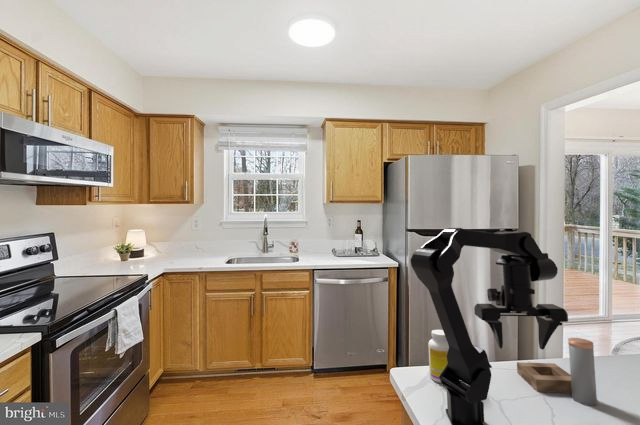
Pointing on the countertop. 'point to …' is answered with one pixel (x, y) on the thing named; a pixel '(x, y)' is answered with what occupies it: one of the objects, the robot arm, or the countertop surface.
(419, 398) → the countertop surface
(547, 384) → the brown square frame
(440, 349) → the supplement bottle
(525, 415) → the countertop surface
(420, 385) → the countertop surface
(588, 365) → the plug
